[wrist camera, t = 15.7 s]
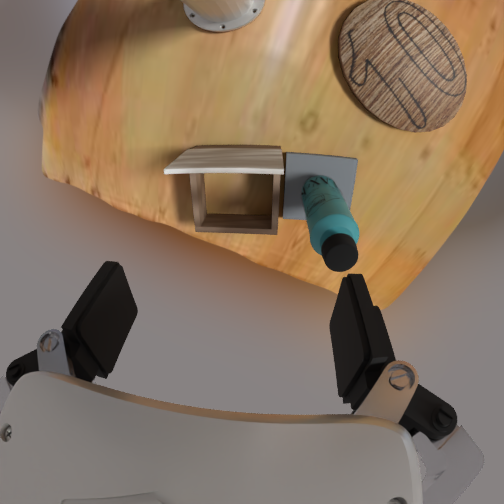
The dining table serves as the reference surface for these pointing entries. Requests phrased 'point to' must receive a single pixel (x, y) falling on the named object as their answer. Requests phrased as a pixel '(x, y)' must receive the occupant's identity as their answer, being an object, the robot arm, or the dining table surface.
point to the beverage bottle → (330, 223)
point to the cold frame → (230, 161)
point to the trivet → (402, 64)
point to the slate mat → (310, 166)
